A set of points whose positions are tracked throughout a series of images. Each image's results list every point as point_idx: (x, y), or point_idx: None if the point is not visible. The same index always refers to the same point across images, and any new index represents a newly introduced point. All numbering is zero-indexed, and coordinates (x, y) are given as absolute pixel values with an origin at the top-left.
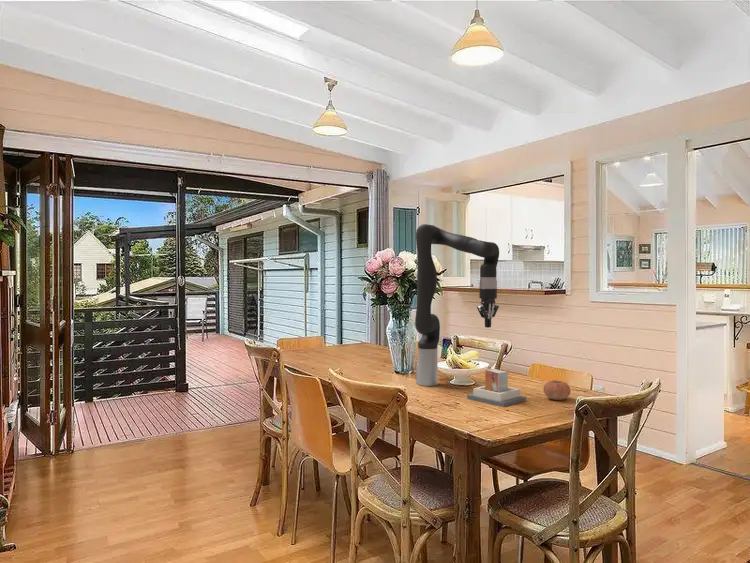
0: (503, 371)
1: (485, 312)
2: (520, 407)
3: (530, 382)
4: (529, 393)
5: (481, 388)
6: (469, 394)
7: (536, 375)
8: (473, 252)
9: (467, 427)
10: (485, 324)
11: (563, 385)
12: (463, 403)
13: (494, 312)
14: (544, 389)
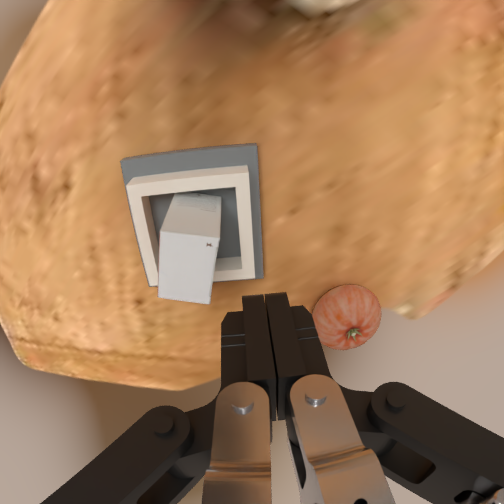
0: (202, 291)
1: None
2: (187, 304)
3: (478, 143)
4: (351, 225)
5: (159, 193)
6: (131, 159)
7: None
8: None
9: (12, 322)
10: (223, 338)
11: (338, 349)
12: (79, 197)
13: (397, 481)
14: (321, 306)
